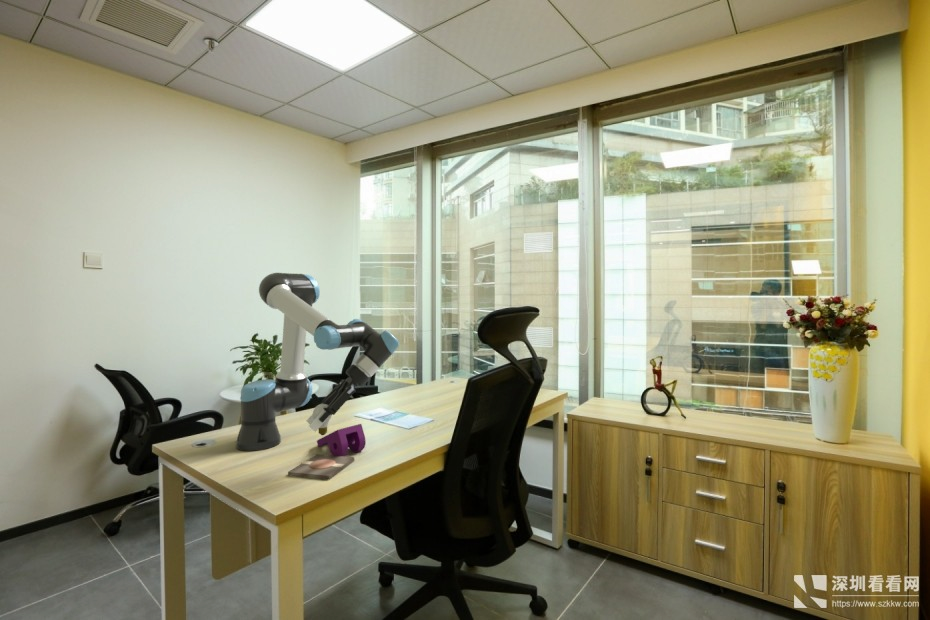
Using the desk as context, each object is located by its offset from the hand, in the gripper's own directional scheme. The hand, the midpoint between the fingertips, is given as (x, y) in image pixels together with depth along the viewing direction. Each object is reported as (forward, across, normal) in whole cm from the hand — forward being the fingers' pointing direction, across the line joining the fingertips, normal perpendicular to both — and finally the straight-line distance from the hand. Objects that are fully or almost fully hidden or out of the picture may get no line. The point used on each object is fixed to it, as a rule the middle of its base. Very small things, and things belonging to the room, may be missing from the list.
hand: (310, 426), depth 139 cm
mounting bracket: (+2, +16, -18) cm, 24 cm away
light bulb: (0, 0, -5) cm, 5 cm away
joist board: (+7, 0, -12) cm, 14 cm away
